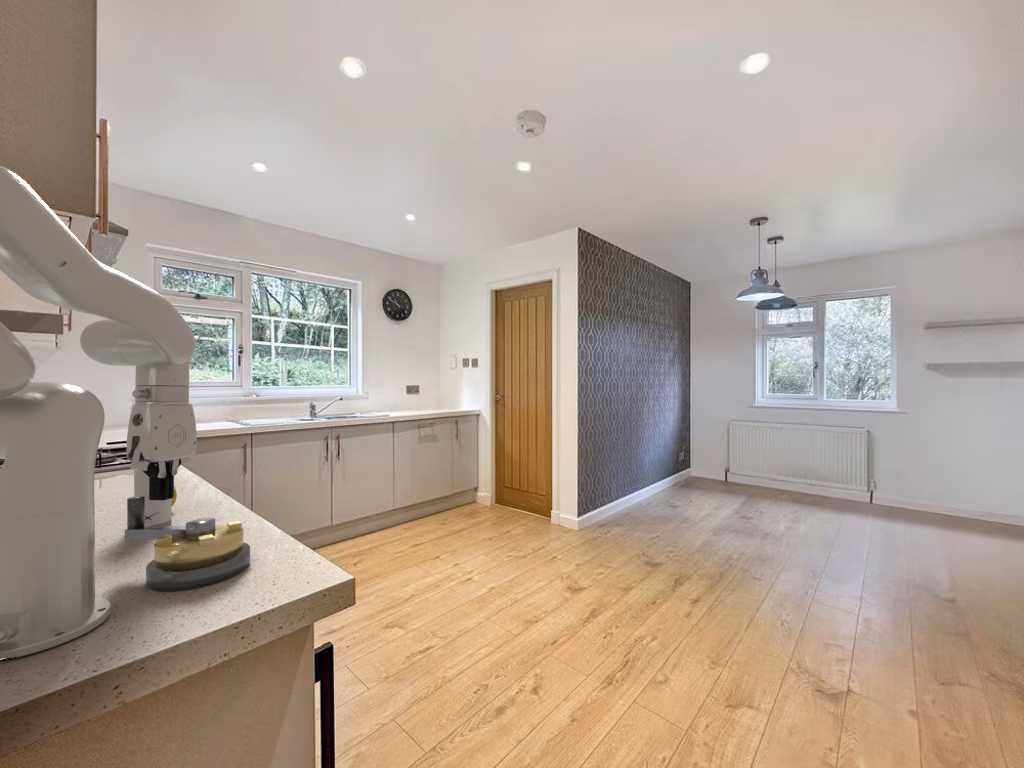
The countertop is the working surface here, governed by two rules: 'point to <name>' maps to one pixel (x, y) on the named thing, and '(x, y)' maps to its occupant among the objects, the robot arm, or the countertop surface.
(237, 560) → the base
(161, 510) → the travel mug
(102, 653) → the countertop surface
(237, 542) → the yellow crank mechanism
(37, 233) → the robot arm
